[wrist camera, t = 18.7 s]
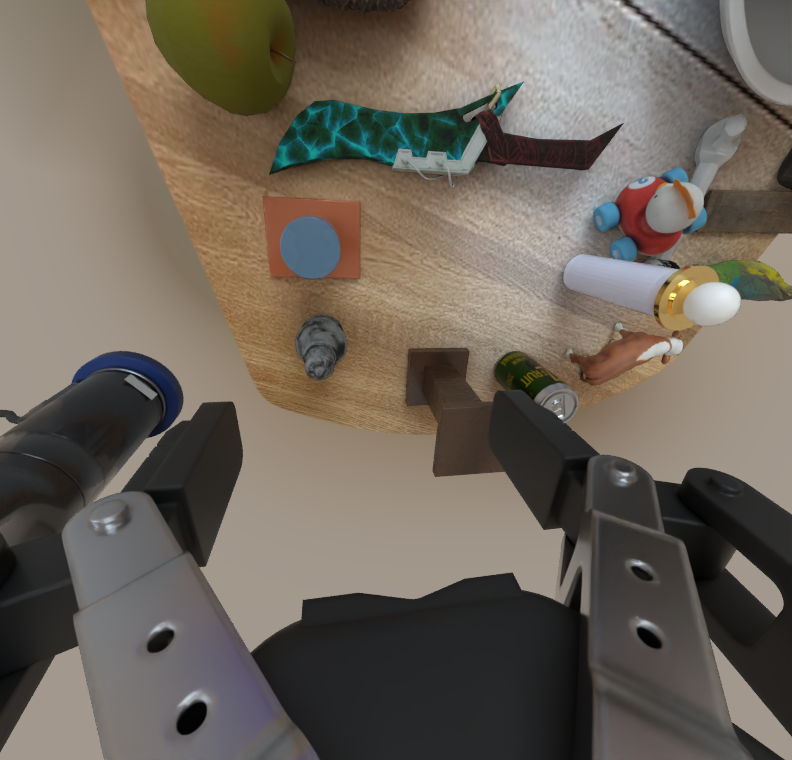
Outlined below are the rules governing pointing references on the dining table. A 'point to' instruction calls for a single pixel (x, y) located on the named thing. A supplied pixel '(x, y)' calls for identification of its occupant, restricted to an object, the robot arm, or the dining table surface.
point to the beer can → (536, 384)
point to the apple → (228, 49)
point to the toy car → (652, 214)
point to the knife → (426, 139)
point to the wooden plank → (748, 211)
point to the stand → (452, 411)
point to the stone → (786, 172)
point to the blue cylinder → (310, 247)
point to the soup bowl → (761, 45)
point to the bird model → (753, 280)
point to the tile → (335, 212)
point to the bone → (710, 161)
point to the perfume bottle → (656, 290)
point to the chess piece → (321, 345)
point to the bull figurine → (624, 354)
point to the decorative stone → (366, 4)
